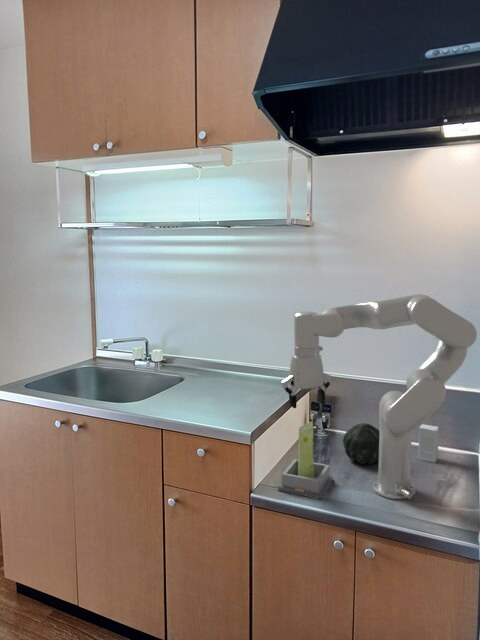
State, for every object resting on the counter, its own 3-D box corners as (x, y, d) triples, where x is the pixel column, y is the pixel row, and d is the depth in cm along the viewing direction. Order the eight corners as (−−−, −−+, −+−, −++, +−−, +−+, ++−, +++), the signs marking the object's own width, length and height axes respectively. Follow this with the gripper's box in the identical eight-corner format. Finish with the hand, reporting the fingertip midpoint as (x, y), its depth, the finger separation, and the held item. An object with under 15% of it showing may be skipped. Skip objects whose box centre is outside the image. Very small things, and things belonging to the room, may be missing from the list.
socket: (333, 479, 164) (333, 464, 163) (320, 499, 152) (321, 483, 151) (292, 471, 170) (292, 457, 169) (278, 490, 158) (277, 474, 157)
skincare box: (438, 458, 178) (439, 426, 176) (435, 463, 175) (437, 430, 173) (420, 455, 181) (421, 423, 179) (417, 459, 178) (418, 427, 176)
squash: (362, 432, 190) (348, 410, 181) (398, 444, 179) (385, 422, 170) (345, 463, 184) (329, 443, 176) (380, 478, 174) (366, 457, 165)
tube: (314, 485, 158) (315, 426, 155) (298, 485, 158) (298, 427, 155) (312, 477, 163) (312, 420, 160) (297, 477, 163) (297, 420, 160)
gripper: (325, 346, 160) (325, 397, 163) (276, 352, 155) (277, 405, 157) (337, 351, 153) (337, 404, 156) (286, 357, 148) (287, 412, 150)
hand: (307, 404), depth 157 cm, fingers open, 9 cm apart
